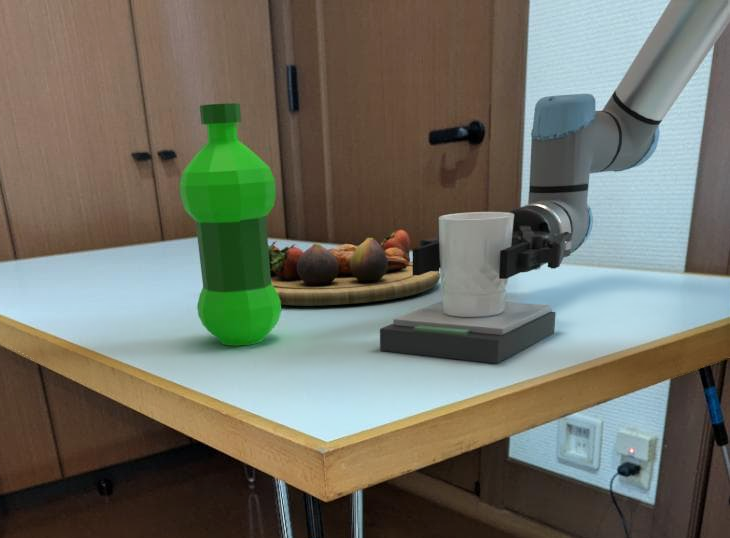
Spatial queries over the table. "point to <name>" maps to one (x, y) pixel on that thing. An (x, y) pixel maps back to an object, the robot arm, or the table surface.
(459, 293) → the white cup
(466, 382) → the table surface
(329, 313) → the table surface
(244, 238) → the plastic bottle
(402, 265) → the wooden plate
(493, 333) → the kitchen scale
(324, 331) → the table surface
